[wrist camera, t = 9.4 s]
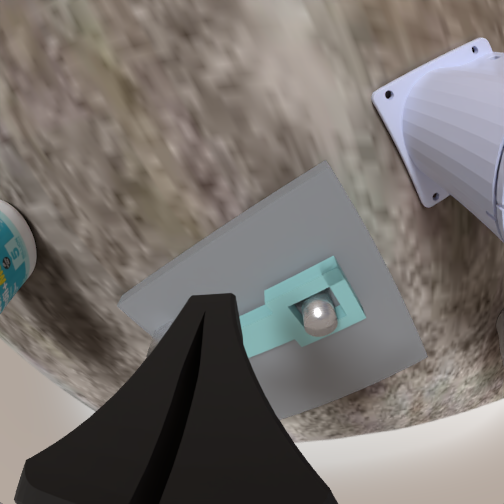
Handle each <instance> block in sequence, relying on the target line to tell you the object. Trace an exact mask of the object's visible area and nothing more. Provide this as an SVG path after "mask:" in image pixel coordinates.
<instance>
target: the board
mask: <svg viewBox="0 0 504 504" xmlns="http://www.w3.org/2000/svg"><path fill="white" fill-rule="evenodd" d="M332 256H334V257H335V259H336V260H337V262H338V264H339V266H340V267H341V269H342V271H343V273H344V274H345V276H346V278H347V280H348V281H349V283H350V285H351V287H352V289H353V290H354V292H355V294H356V296H357V298H358V299H359V301H360V303H361V305H362V307H363V310H364V313H365V316H366V319H363V320H361V321H359V322H357V323H355V324H353V325H351V326H349V327H347V328H344V329H342V330H340V331H338V332H336V333H333V334H331V335H329V336H327V337H324V338H322V339H320V340H317V341H315V342H313V343H310V344H308V345H306V346H303V347H301V346H300V345H299V343H298V342H297V341H296V340H295V339H294V340H292V341H289V342H287V343H285V344H282V345H280V346H277V347H275V348H273V349H270V350H268V351H265V352H263V353H260V354H258V355H255V356H252V357H250V358H248V359H249V361H250V363H251V366H252V368H253V371H254V373H255V375H256V377H257V380H258V382H259V384H260V386H261V388H262V390H263V392H264V394H265V396H266V398H267V400H268V401H269V403H270V405H271V407H272V409H273V410H274V412H275V414H276V416H277V417H278V419H279V420H281V419H284V418H287V417H290V416H293V415H296V414H299V413H302V412H305V411H308V410H310V409H313V408H316V407H319V406H321V405H324V404H327V403H329V402H332V401H334V400H337V399H339V398H342V397H344V396H347V395H349V394H352V393H354V392H356V391H359V390H361V389H363V388H366V387H368V386H370V385H372V384H374V383H377V382H379V381H381V380H383V379H385V378H387V377H390V376H392V375H394V374H396V373H398V372H400V371H402V370H404V369H406V368H408V367H410V366H412V365H414V364H416V363H417V362H419V361H421V360H423V359H425V358H427V357H428V356H427V353H426V351H425V348H424V346H423V344H422V341H421V339H420V337H419V334H418V332H417V330H416V327H415V325H414V323H413V321H412V318H411V316H410V314H409V312H408V309H407V307H406V305H405V303H404V301H403V299H402V297H401V294H400V292H399V290H398V288H397V286H396V284H395V282H394V280H393V278H392V276H391V274H390V272H389V270H388V268H387V266H386V264H385V262H384V260H383V258H382V256H381V254H380V252H379V251H378V249H377V247H376V245H375V243H374V241H373V239H372V237H371V236H370V234H369V232H368V230H367V228H366V226H365V225H364V223H363V221H362V219H361V218H360V216H359V214H358V212H357V210H356V209H355V207H354V205H353V204H352V202H351V200H350V198H349V197H348V195H347V193H346V192H345V190H344V188H343V187H342V185H341V183H340V182H339V180H338V178H337V177H336V175H335V174H334V172H333V170H332V169H331V167H330V166H329V164H328V163H327V161H326V160H325V161H323V162H322V163H320V164H318V165H317V166H315V167H314V168H312V169H310V170H309V171H307V172H306V173H304V174H302V175H301V176H299V177H298V178H296V179H294V180H293V181H291V182H290V183H288V184H287V185H285V186H283V187H282V188H280V189H279V190H277V191H276V192H274V193H272V194H271V195H269V196H268V197H266V198H265V199H263V200H262V201H260V202H259V203H257V204H255V205H254V206H252V207H251V208H249V209H248V210H246V211H245V212H243V213H242V214H240V215H239V216H237V217H236V218H234V219H233V220H231V221H230V222H228V223H227V224H225V225H223V226H222V227H220V228H219V229H217V230H216V231H214V232H213V233H212V234H210V235H209V236H207V237H206V238H204V239H203V240H201V241H200V242H198V243H197V244H195V245H194V246H192V247H191V248H189V249H188V250H186V251H185V252H183V253H182V254H181V255H179V256H178V257H176V258H175V259H173V260H172V261H170V262H169V263H167V264H166V265H165V266H163V267H162V268H160V269H159V270H157V271H156V272H155V273H153V274H152V275H150V276H149V277H147V278H146V279H145V280H143V281H142V282H140V283H139V284H137V285H136V286H135V287H133V288H132V289H130V290H129V291H128V292H126V293H125V294H123V295H122V297H121V299H120V301H119V303H118V305H117V306H118V307H119V308H120V309H121V310H122V311H123V312H124V313H125V314H126V315H128V316H129V317H130V318H131V319H132V320H133V321H134V322H136V323H137V324H138V325H139V326H140V327H141V328H143V329H144V330H145V331H146V332H147V333H149V334H150V335H151V336H152V337H153V334H154V331H155V329H157V328H159V327H161V326H162V325H164V324H166V323H168V322H170V321H171V320H175V319H176V317H177V316H178V314H179V313H180V311H181V310H182V308H183V307H184V305H185V304H186V302H187V301H188V299H189V298H190V297H191V296H192V295H206V294H221V293H232V294H234V295H235V296H236V301H237V306H238V312H239V316H241V315H244V314H246V313H248V312H250V311H252V310H254V309H256V308H259V307H261V306H263V305H265V296H264V291H265V290H267V289H269V288H271V287H273V286H275V285H277V284H279V283H281V282H283V281H285V280H287V279H289V278H291V277H293V276H295V275H297V274H299V273H301V272H303V271H305V270H307V269H308V268H310V267H312V266H314V265H316V264H318V263H320V262H322V261H324V260H326V259H328V258H330V257H332ZM328 289H329V291H330V294H331V298H332V301H333V305H334V308H335V307H337V306H339V305H340V303H339V301H338V300H337V298H336V297H335V295H334V293H333V292H332V290H331V289H330V287H328ZM294 305H295V306H296V308H297V309H298V310H299V312H300V313H301V314H302V308H301V301H299V302H297V303H295V304H294ZM302 316H303V315H302Z"/></svg>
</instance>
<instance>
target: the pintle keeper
mask: <svg viewBox="0 0 504 504" xmlns="http://www.w3.org/2000/svg"><path fill="white" fill-rule="evenodd" d="M301 308H302V315H303V322H304V328H305V331H306V332H307V333H308V334H309V335H311V336H315V337H322V336H326V335H328V334H330V333H332V332H333V331H334V330H335V329H336V327H337V325H338V321H337V317H336V313H335V309H334V305H333V301H332V298H331V294H330V291H329V289H328V288H326V289H324V290H322V291H320V292H318V293H316V294H314V295H312V296H310V297H308V298H305V299H303V300H301ZM173 322H174V320H171V321H170V322H168V323H166V324H164V325H162V326H161V327H159V328H157V329H155V331H154V334H153V337H152V341H151V344H150V347H149V350H148V353H147V356H146V357H148V356H149V355H150V353H151V352H152V351H153V349H154V348H155V347H156V346H157V344H158V343H159V341H160V340H161V339H162V337H163V336H164V334H165V333H166V332H167V330H168V329H169V327H170V326H171V325H172V323H173Z"/></svg>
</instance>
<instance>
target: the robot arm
mask: <svg viewBox="0 0 504 504" xmlns="http://www.w3.org/2000/svg"><path fill="white" fill-rule="evenodd" d="M472 47H473V48H474V50H475V51H474V53H473V52H472ZM388 90H389V91H390V92H391V97H390V98H389V99H387V98H386V97H385V92H386V91H388ZM372 102H373V104H374V106H375V107H376V109H377V111H378V113H379V115H380V116H381V118H382V120H383V122H384V124H385V126H386V128H387V130H388V131H389V133H390V135H391V137H392V139H393V141H394V143H395V145H396V147H397V149H398V151H399V153H400V155H401V157H402V160H403V162H404V164H405V166H406V168H407V170H408V172H409V175H410V177H411V179H412V181H413V184H414V186H415V188H416V191H417V193H418V195H419V198H420V200H421V203H422V204H423V205H424V206H425V207H428V208H430V207H432V206H434V205H435V204H437V203H438V202H440V201H442V200H443V199H445V198H446V197H448V196H449V195H452V196H453V197H454V198H455V199H456V200H458V201H459V202H460V203H461V204H462V205H463V206H465V207H466V208H467V209H468V210H469V211H470V212H471V213H473V214H474V215H475V216H476V217H477V218H478V219H479V220H480V221H481V222H482V223H484V224H485V225H486V226H487V227H488V228H489V229H490V230H491V231H492V232H493V233H494V234H495V235H496V236H497V237H498V238H499V239H500V240H501V241H502V242H503V243H504V53H500V52H493V51H492V49H491V47H490V44H489V42H488V41H487V40H486V39H485V38H477V39H475V40H473V41H471V42H468V43H466V44H464V45H462V46H460V47H458V48H456V49H454V50H452V51H450V52H448V53H446V54H444V55H442V56H439V57H438V58H436V59H434V60H432V61H430V62H428V63H426V64H424V65H422V66H420V67H418V68H416V69H414V70H412V71H410V72H409V73H407V74H405V75H403V76H401V77H399V78H397V79H396V80H394V81H392V82H390V83H388V84H386V85H385V86H383V87H381V88H379V89H377V90H376V91H375V92H373V94H372ZM435 193H437V195H436V197H435V198H433V195H434V194H435ZM14 500H15V502H16V503H17V504H338V503H337V501H336V499H335V497H334V496H333V494H332V492H331V490H330V488H329V487H328V486H327V485H326V483H325V482H324V481H323V480H322V479H321V478H320V476H319V475H318V474H317V473H316V471H315V470H314V469H313V468H312V467H311V465H310V464H309V463H308V461H307V460H306V459H305V457H304V456H303V455H302V453H301V452H300V451H299V449H298V448H297V446H296V445H295V444H294V442H293V441H292V439H291V437H290V436H289V434H288V433H287V431H286V430H285V428H284V427H283V425H282V423H281V422H280V420H279V419H278V417H277V416H276V414H275V412H274V410H273V409H272V407H271V405H270V403H269V401H268V400H267V398H266V396H265V394H264V392H263V390H262V388H261V386H260V384H259V382H258V380H257V377H256V375H255V373H254V371H253V368H252V366H251V363H250V361H249V359H248V356H247V353H246V351H245V348H244V345H243V334H242V329H241V323H240V318H239V312H238V306H237V301H236V296H235V295H234V294H232V293H221V294H206V295H192V296H191V297H190V298H189V299H188V301H187V302H186V304H185V305H184V307H183V308H182V310H181V311H180V313H179V314H178V316H177V317H176V319H175V320H174V322H173V323H172V325H171V326H170V327H169V329H168V330H167V332H166V333H165V334H164V336H163V337H162V339H161V340H160V341H159V343H158V344H157V346H156V347H155V348H154V349H153V351H152V352H151V353H150V355H149V356H148V357H147V358H146V360H145V361H144V362H143V363H142V365H141V366H140V367H139V368H138V369H137V371H136V372H135V373H134V374H133V375H132V376H131V378H130V379H129V380H128V381H127V382H126V383H125V384H124V385H123V386H122V387H121V388H120V389H119V390H118V392H117V393H116V394H115V395H114V396H113V397H111V398H110V399H109V400H108V401H107V402H106V403H105V404H104V405H103V406H102V407H101V408H100V409H98V410H97V411H96V412H95V413H94V414H93V415H92V416H91V417H90V418H88V419H87V420H86V421H85V422H83V423H82V424H81V425H79V426H78V427H77V428H76V429H74V430H73V431H72V432H70V433H69V434H68V435H66V436H65V437H64V438H62V439H60V440H59V441H57V442H56V443H54V444H53V445H51V446H49V447H48V448H46V449H45V450H43V451H41V452H40V453H38V454H36V455H34V456H33V457H31V458H29V459H27V460H26V462H25V465H24V468H23V471H22V474H21V477H20V480H19V484H18V487H17V490H16V494H15V498H14ZM0 504H2V503H0Z"/></svg>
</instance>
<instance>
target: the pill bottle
mask: <svg viewBox="0 0 504 504" xmlns="http://www.w3.org/2000/svg"><path fill="white" fill-rule="evenodd" d="M36 258H37V254H36V245H35V241H34V237H33V235H32V232H31V230H30V228H29V226H28V224H27V222H26V221H25V219H24V218H23V217H22V215H21V214H20V213H19V212H18V211H17V210H16V209H15V208H14V207H13V206H11V205H10V204H9V203H7V202H5V201H3V200H0V314H1V312H2V311H3V309H4V308H5V307H6V305H7V304H8V303H9V302H10V300H11V299H12V298H13V296H14V295H15V294H16V292H17V291H18V290H19V289H20V287H21V286H22V285H23V284H24V283H25V281H26V280H27V279H28V278H29V276H30V275H31V274H32V272H33V270H34V268H35V264H36Z"/></svg>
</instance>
